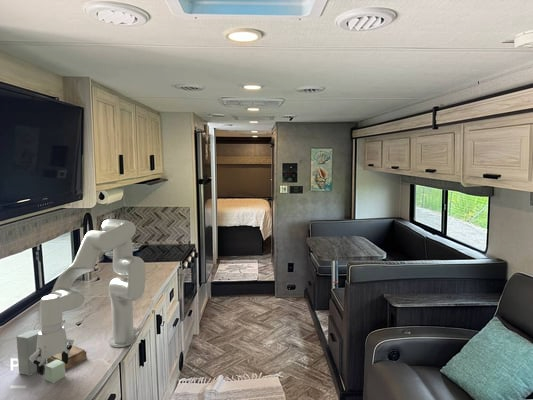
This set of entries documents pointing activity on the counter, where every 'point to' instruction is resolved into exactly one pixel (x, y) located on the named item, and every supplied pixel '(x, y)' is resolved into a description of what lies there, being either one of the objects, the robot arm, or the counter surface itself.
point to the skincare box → (27, 352)
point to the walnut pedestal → (70, 356)
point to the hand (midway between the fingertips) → (53, 368)
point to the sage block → (55, 370)
